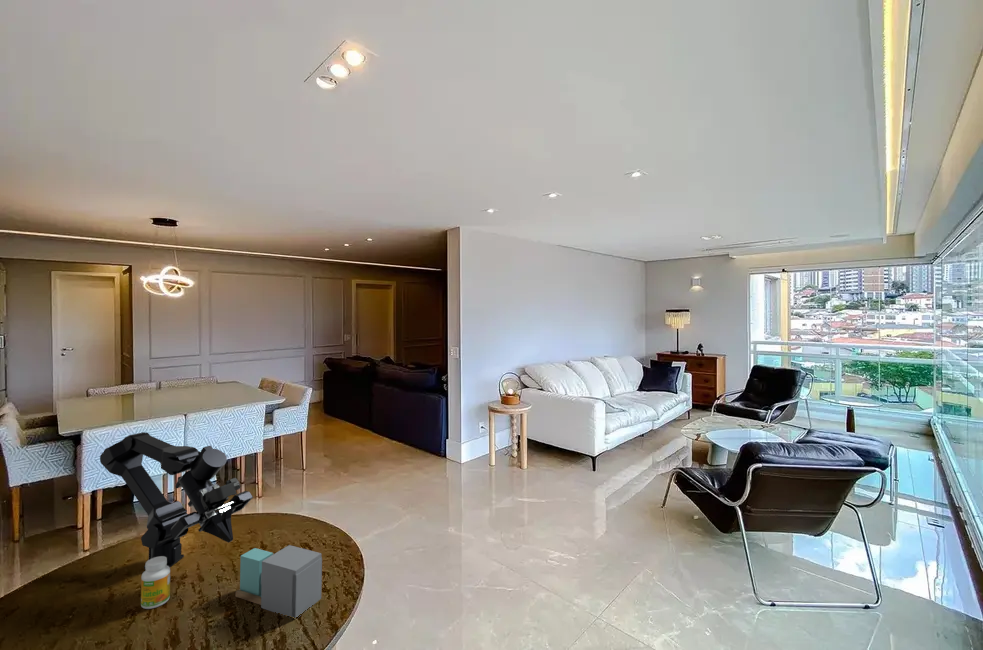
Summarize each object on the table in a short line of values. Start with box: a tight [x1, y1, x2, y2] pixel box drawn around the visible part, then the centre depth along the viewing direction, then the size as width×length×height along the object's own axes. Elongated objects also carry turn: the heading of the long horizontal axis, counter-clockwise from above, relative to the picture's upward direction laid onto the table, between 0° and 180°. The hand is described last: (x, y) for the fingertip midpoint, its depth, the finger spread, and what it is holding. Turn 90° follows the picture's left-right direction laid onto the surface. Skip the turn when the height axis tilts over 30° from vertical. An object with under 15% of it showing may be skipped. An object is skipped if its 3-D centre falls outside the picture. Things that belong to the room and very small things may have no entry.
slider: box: [239, 547, 274, 597], centre depth 107 cm, size 8×4×9 cm, turn 70°
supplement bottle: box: [140, 556, 171, 610], centre depth 102 cm, size 5×5×10 cm
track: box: [235, 589, 261, 606], centre depth 106 cm, size 9×6×1 cm
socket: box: [260, 544, 323, 618], centre depth 103 cm, size 10×8×11 cm
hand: (230, 541), depth 110 cm, fingers closed
